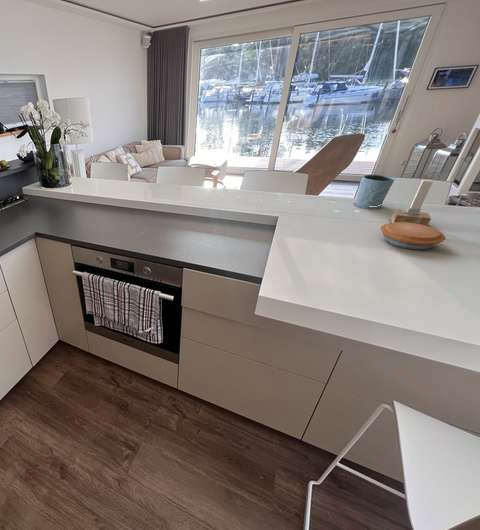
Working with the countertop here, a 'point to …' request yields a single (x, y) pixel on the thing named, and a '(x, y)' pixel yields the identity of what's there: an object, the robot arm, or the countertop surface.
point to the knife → (419, 197)
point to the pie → (411, 235)
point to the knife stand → (411, 217)
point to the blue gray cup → (373, 190)
